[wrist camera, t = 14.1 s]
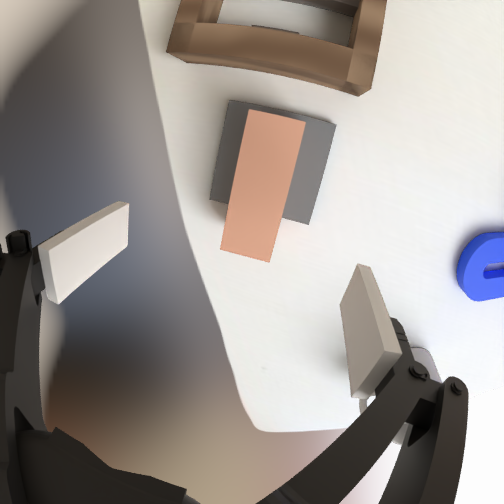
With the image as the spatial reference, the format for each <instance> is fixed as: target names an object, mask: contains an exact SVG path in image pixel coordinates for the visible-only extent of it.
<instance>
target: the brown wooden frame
mask: <svg viewBox="0 0 504 504" xmlns="http://www.w3.org/2000/svg"><path fill="white" fill-rule="evenodd" d="M283 1H289V2H294V3H300V4H305V5H309V6H314V7H318V8H323V9H327V10H331V11H334V12H338V13H342V14H345V15H348V16H352V17H354V18H353V23H352V28H351V33H350V38H349V43H348V47H345V46H342V45H339V44H335V43H331V42H328V41H324V40H320V39H316V38H312V37H308V36H303V35H299V33H298V32H293V31H288V30H282V29H276V28H270V27H264V26H256V25H252V27H250V26H241V25H231V24H217V20H218V16H219V13H220V10H221V6H222V3H223V0H181V3H180V6H179V9H178V12H177V15H176V18H175V22H174V25H173V28H172V32H171V35H170V39H169V43H168V46H167V50H166V52H167V53H169V54H171V55H173V56H175V57H177V58H179V59H181V60H183V61H184V62H186V63H196V64H208V65H218V66H226V67H234V68H241V69H248V70H254V71H260V72H266V73H271V74H276V75H281V76H286V77H290V78H295V79H299V80H303V81H307V82H311V83H315V84H318V85H322V86H326V87H329V88H333V89H336V90H339V91H343V92H346V93H349V94H352V95H355V96H360V95H362V94H363V93H365V92H367V91H369V90H370V89H371V86H372V81H373V77H374V72H375V67H376V62H377V57H378V52H379V46H380V41H381V35H382V29H383V23H384V17H385V10H386V3H387V0H283Z"/></svg>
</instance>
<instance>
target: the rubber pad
mask: <svg viewBox="0 0 504 504" xmlns="http://www.w3.org/2000/svg"><path fill="white" fill-rule="evenodd" d="M249 109H251V110H256V111H261V112H266V113H270V114H275V115H279V116H283V117H288V118H292V119H296V120H300V121H304V122H306V124H305V128H304V132H303V136H302V140H301V144H300V148H299V152H298V156H297V160H296V164H295V168H294V172H293V176H292V180H291V184H290V187H289V191H288V195H287V199H286V203H285V206H284V210H283V214H282V218H285V219H289V220H293V221H296V222H300V223H304V224H307V225H309V222H310V219H311V215H312V212H313V209H314V205H315V202H316V198H317V195H318V191H319V188H320V184H321V181H322V177H323V174H324V170H325V166H326V163H327V159H328V155H329V151H330V148H331V144H332V140H333V136H334V132H335V128H336V125H335V124H332V123H329V122H325V121H322V120H318V119H315V118H311V117H307V116H304V115H300V114H296V113H292V112H288V111H283V110H279V109H275V108H270V107H265V106H260V105H255V104H250V103H245V102H239V101H233V100H229V104H228V109H227V113H226V118H225V122H224V127H223V132H222V137H221V142H220V147H219V152H218V157H217V162H216V167H215V172H214V178H213V183H212V189H211V194H210V200H214V201H218V202H222V203H226V204H229V200H230V195H231V190H232V185H233V180H234V176H235V171H236V166H237V161H238V157H239V152H240V147H241V143H242V138H243V134H244V129H245V125H246V120H247V116H248V111H249Z"/></svg>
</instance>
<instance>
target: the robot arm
mask: <svg viewBox="0 0 504 504" xmlns="http://www.w3.org/2000/svg"><path fill="white" fill-rule="evenodd" d="M128 215H129V203H125V202H121V201H117V202H116V203H113V204H112V205H110V206H108V207H106V208H104V209H102V210H100V211H98V212H96V213H94V214H92V215H91V216H89V217H87V218H85V219H83V220H82V221H80V222H78V223H76V224H74V225H72V226H71V227H69V228H67V229H65V230H63V231H60V232H58V233H57V234H55V235H54V236H52V237H50V238H49V239H47V240H45V241H43V242H42V243H40V244H39V245H37V246H35V247H34V248H32V245H31V237H30V232H29V231H27V230H17V231H13V232H11V233H9V234H8V235H7V236H6V242H7V248H8V253H2V248H1V244H0V504H200V503H199V502H197V501H196V500H194V499H193V498H191V497H189V496H188V495H186V491H187V489H185V488H182V487H179V486H176V485H173V484H170V483H167V482H164V481H162V480H159V479H156V478H153V477H151V476H146V475H141V474H136V473H131V472H126V471H122V470H117V469H113V468H111V467H109V466H108V465H107V464H105V463H104V462H103V461H102V460H101V459H99V458H98V457H97V456H96V455H95V454H94V453H93V452H91V451H90V450H89V449H88V448H87V447H86V446H85V445H84V444H83V443H81V442H79V441H78V440H76V439H74V438H72V437H71V436H69V435H68V434H66V433H64V432H63V431H62V430H60V429H58V428H57V427H55V429H54V430H53V432H48V431H47V428H46V426H45V424H44V421H43V417H42V407H41V396H40V379H39V333H40V315H41V303H42V296H41V291H42V290H44V289H46V293H47V298H48V299H49V300H51V301H53V302H55V303H57V304H59V303H60V302H61V301H63V300H64V299H65V298H66V297H67V296H68V295H69V294H70V293H72V292H73V290H75V289H76V288H77V287H78V286H80V285H81V284H82V283H83V282H84V281H85V280H87V279H88V278H89V277H90V276H91V275H92V274H93V273H95V272H96V271H97V270H98V269H99V268H101V267H102V266H103V265H104V264H106V263H107V262H108V261H109V260H110V259H112V258H113V257H114V256H115V255H117V254H118V253H119V252H120V251H122V250H123V249H124V248H125V247H127V246H128ZM340 310H341V316H342V323H343V330H344V337H345V345H346V353H347V361H348V370H349V380H350V390H351V397H352V398H360V399H368V398H369V397H370V396H371V395H372V393H373V392H374V391H375V395H376V398H375V399H374V401H373V402H372V403H371V404H370V405H369V406H368V407H367V408H366V410H365V411H364V412H363V413H362V414H361V415H360V416H359V417H358V418H357V419H356V420H355V421H354V422H353V423H352V424H351V425H350V426H349V427H348V428H347V429H346V431H345V432H344V433H342V434H341V435H340V437H338V438H337V439H336V440H335V441H334V442H333V443H332V444H331V445H330V446H329V447H328V448H327V449H326V450H325V451H323V453H321V454H320V455H319V456H318V457H317V458H316V459H314V460H313V461H312V462H311V463H310V464H309V465H307V466H306V467H305V468H304V469H303V470H302V471H300V472H299V473H298V474H296V475H295V476H294V477H293V478H291V479H290V480H289V481H288V482H286V483H285V484H284V485H282V486H281V487H279V488H278V489H277V490H275V491H274V492H273V493H271V494H269V495H268V496H266V497H265V498H264V499H262V500H261V501H259V502H258V503H256V504H339V503H340V502H341V501H342V500H343V499H344V498H345V497H346V496H347V495H348V493H349V492H350V491H351V490H352V489H353V488H354V487H355V486H356V485H357V484H358V483H359V481H360V480H361V479H362V478H363V477H364V476H365V475H366V473H367V472H368V471H369V470H370V469H371V467H372V466H373V465H374V464H375V462H376V461H377V460H378V459H379V457H380V456H381V455H382V453H383V452H384V451H385V450H386V448H387V447H388V445H389V444H390V443H391V441H392V440H393V439H394V437H395V436H396V434H397V433H398V432H399V430H400V429H401V427H402V426H403V424H404V423H405V422H406V423H408V427H407V431H406V434H405V437H404V440H403V443H402V447H401V450H400V452H399V455H398V458H397V461H396V463H395V466H394V469H393V471H392V474H391V476H390V479H389V481H388V484H387V486H386V488H385V491H384V493H383V495H382V498H381V499H380V501H379V504H454V501H455V497H456V493H457V488H458V483H459V479H460V474H461V468H462V462H463V454H464V448H465V439H466V430H467V417H468V389H467V387H466V385H465V384H464V383H463V381H462V380H460V379H458V378H456V377H448V378H447V379H446V380H445V381H444V382H443V384H442V383H440V382H437V381H435V380H432V379H430V374H429V372H428V370H427V368H426V367H425V366H424V365H423V364H421V363H419V362H418V361H415V359H414V356H413V353H412V351H411V348H410V345H409V342H407V341H408V340H407V337H406V336H405V332H404V329H403V326H402V325H401V324H400V323H399V322H398V320H397V319H395V318H391V317H390V316H389V314H388V311H387V308H386V306H385V303H384V300H383V298H382V295H381V293H380V290H379V287H378V285H377V282H376V280H375V278H374V275H373V273H372V270H371V268H370V267H368V266H365V265H361V264H357V266H356V268H355V271H354V273H353V276H352V278H351V280H350V283H349V285H348V287H347V289H346V292H345V294H344V296H343V298H342V301H341V303H340Z"/></svg>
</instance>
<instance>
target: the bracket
mask: <svg viewBox="0 0 504 504" xmlns="http://www.w3.org/2000/svg"><path fill="white" fill-rule="evenodd" d="M499 262H504V232H492V233H483V234H480V235H478V236H477V237H475V238H474V239H473V240H471V241H470V242H469V244H468V245H467V246H466V247H465V249H464V251H463V252H462V254H461V256H460V259H459V262H458V266H457V281H458V284H459V286H460V287H461V289H462V290H463V291H464V292H465V294H466V295H467V296H468V297H469V298H470V299H471V300H474V301H485V300H490V299H495V298H501V297H504V269H499V270H492V271H484V269H485V267H486V266H487V265H488V264H491V263H499Z"/></svg>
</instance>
